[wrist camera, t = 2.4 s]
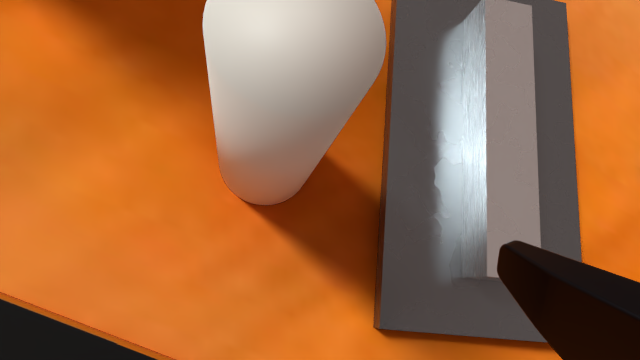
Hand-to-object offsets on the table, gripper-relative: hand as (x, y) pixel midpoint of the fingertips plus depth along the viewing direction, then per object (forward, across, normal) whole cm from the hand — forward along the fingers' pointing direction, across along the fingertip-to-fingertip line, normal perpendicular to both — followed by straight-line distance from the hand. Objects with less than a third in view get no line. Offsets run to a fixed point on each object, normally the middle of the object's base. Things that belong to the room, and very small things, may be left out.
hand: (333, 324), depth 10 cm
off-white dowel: (+15, -2, +4) cm, 16 cm away
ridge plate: (+13, -14, +6) cm, 20 cm away
